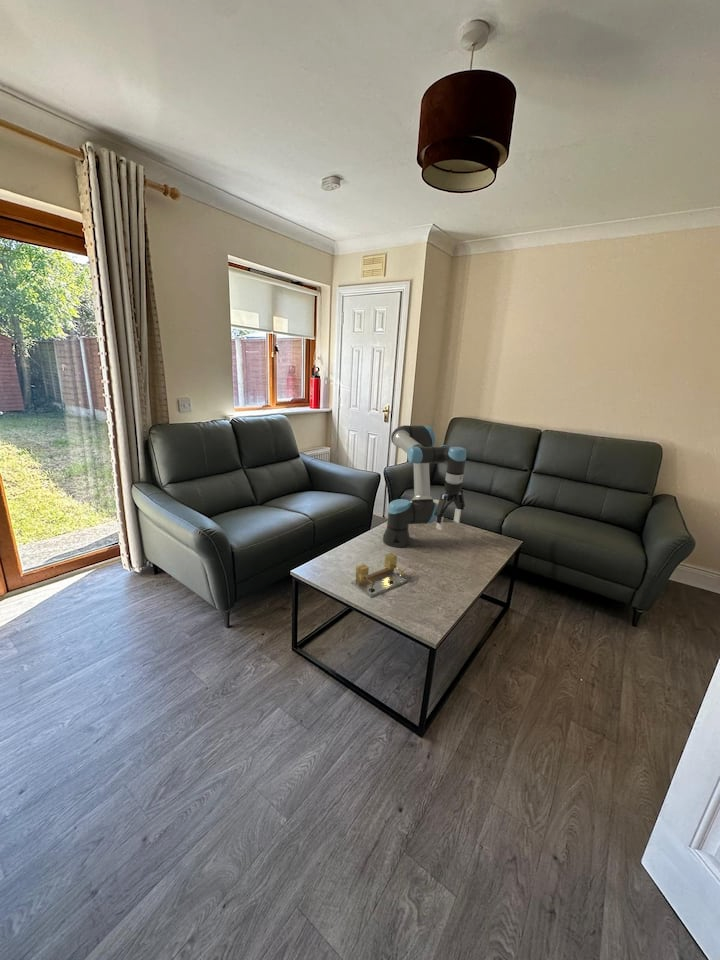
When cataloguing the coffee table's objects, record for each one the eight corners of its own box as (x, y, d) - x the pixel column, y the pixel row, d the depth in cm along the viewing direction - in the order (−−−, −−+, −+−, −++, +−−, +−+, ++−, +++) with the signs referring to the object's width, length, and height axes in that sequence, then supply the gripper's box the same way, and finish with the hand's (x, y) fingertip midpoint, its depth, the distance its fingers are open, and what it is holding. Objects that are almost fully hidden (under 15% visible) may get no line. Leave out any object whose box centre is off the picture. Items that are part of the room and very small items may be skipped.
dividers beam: (354, 582, 170) (355, 566, 168) (389, 569, 183) (390, 553, 181) (368, 593, 163) (369, 576, 161) (404, 578, 176) (405, 562, 173)
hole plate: (351, 583, 171) (351, 581, 171) (386, 569, 184) (386, 567, 184) (370, 597, 162) (370, 595, 162) (405, 582, 175) (405, 580, 174)
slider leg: (384, 570, 181) (385, 555, 178) (390, 567, 183) (391, 552, 181) (398, 579, 173) (400, 563, 171) (405, 576, 176) (406, 561, 174)
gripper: (443, 489, 162) (437, 535, 168) (476, 479, 178) (470, 521, 185) (429, 484, 167) (424, 529, 174) (462, 475, 183) (456, 516, 190)
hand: (447, 525), depth 179 cm, fingers open, 13 cm apart
